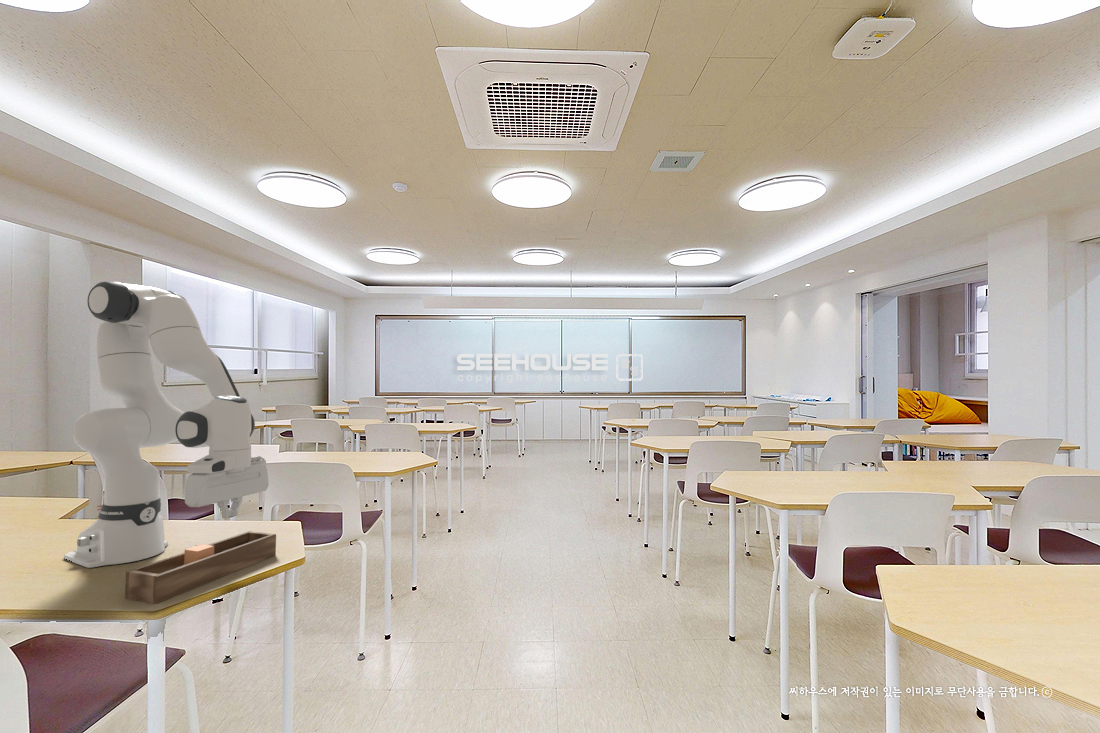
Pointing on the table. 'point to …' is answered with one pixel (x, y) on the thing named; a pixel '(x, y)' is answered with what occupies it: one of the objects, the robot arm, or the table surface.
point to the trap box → (197, 567)
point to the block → (198, 553)
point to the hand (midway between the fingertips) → (229, 517)
